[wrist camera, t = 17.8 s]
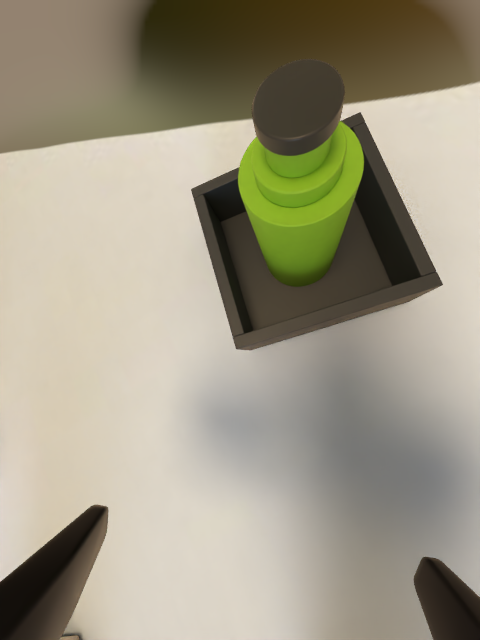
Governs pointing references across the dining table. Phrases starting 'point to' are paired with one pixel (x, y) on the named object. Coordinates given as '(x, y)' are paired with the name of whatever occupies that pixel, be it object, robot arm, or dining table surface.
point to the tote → (346, 269)
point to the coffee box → (70, 638)
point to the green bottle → (300, 170)
